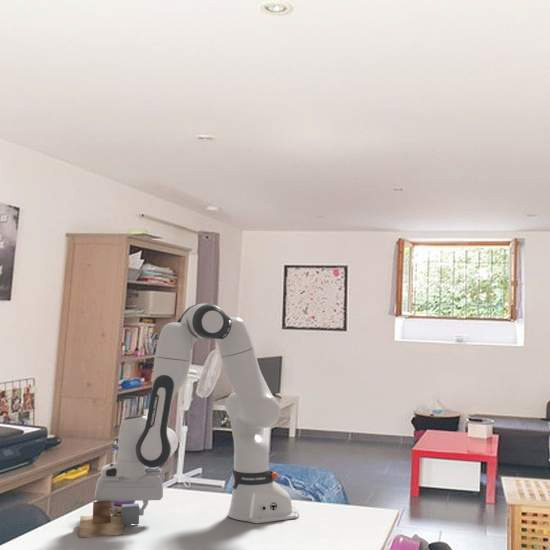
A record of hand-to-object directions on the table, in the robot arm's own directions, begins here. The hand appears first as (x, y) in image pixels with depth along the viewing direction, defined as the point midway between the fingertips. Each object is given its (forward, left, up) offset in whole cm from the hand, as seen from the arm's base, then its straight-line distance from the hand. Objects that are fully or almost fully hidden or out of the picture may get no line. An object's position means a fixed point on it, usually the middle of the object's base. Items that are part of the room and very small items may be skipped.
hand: (127, 515), depth 193 cm
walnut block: (+8, +5, 0) cm, 9 cm away
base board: (+8, +5, -2) cm, 9 cm away
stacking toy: (+1, -15, -3) cm, 16 cm away
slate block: (-1, 0, -2) cm, 3 cm away
